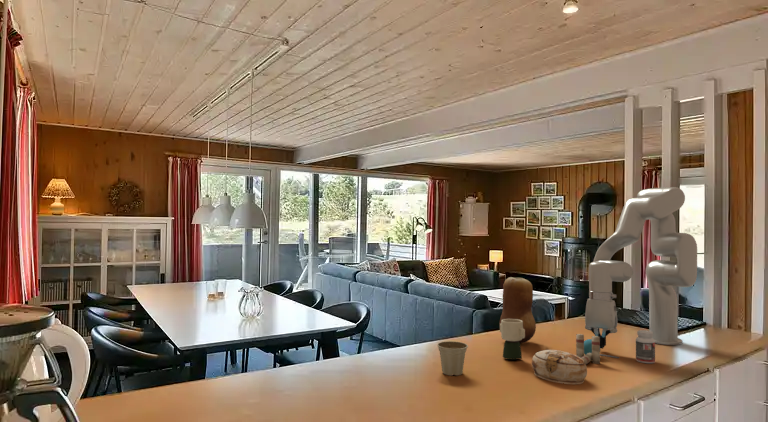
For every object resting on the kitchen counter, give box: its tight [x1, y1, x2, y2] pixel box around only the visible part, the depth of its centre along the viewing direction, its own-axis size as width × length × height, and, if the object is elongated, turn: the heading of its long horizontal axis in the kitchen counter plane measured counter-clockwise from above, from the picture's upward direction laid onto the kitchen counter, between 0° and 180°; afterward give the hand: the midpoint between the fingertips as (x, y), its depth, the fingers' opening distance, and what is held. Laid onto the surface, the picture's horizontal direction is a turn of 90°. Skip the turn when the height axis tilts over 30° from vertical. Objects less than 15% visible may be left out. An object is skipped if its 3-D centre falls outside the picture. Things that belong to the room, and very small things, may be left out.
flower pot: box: [436, 340, 469, 377], centre depth 150 cm, size 9×9×9 cm
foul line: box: [600, 353, 620, 359], centre depth 171 cm, size 1×14×1 cm, turn 52°
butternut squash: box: [498, 276, 537, 345], centre depth 189 cm, size 14×13×25 cm
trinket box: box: [531, 349, 588, 385], centre depth 146 cm, size 13×15×8 cm
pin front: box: [581, 353, 592, 366], centre depth 161 cm, size 2×2×8 cm
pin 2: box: [591, 335, 601, 365], centre depth 161 cm, size 2×2×8 cm
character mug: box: [499, 319, 525, 361], centre depth 166 cm, size 11×7×13 cm, turn 32°
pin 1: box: [575, 333, 585, 358], centre depth 165 cm, size 2×2×8 cm
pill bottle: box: [635, 329, 656, 364], centre depth 163 cm, size 6×6×10 cm
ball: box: [584, 338, 592, 356], centre depth 169 cm, size 6×6×6 cm
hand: (601, 347), depth 175 cm, fingers closed
